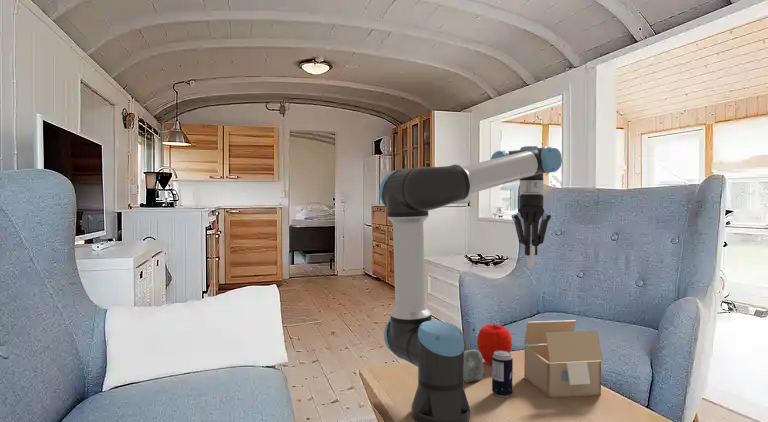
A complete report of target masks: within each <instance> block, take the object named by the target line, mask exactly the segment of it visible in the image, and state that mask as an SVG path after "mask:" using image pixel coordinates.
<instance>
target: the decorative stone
mask: <svg viewBox="0 0 768 422" xmlns="http://www.w3.org/2000/svg"><path fill="white" fill-rule="evenodd" d="M483 362H484V359H483V357H482V355H481V353H480V352H479V349H468V350H464V369H463V382H466V383H471V382H478V381H480V380H482V377H483V376H484V374H485V373H484V364H483Z"/></svg>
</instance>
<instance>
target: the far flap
mask: <svg viewBox="0 0 768 422" xmlns="http://www.w3.org/2000/svg"><path fill="white" fill-rule="evenodd" d="M576 323H577V320H576V319H570V320H569V319H568V320H567V319H565V320H542V321H541V320H539V321H538V320H536V321H534V320H533V321H527V324H526V329H525V336H524V341H523V345H525V346H527V345H537V346H547V342H546V335H545V333H546V332H572V331H575V327H576Z"/></svg>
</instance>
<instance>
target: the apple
mask: <svg viewBox="0 0 768 422" xmlns="http://www.w3.org/2000/svg"><path fill="white" fill-rule="evenodd" d="M476 338H477V340H476V341H477V342H476V344H477V345H476V346H477V350H478V351H479V352H480V353H481V355H482V358H483V359H482V360H483V361H485V364H487V365H489V366H491V367H492V356H493V355H494V352H495V351H507V352H510V353H511V350H512V345H513V344H512V343H513V342H512V341H513V340H512V335H511V333H510V330H509V329H508V328H506V327H504V326H503V325H499V324H486V325H484V326H482V327H481V328H480V330H479V332H478V334H477V337H476Z"/></svg>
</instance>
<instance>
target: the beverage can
mask: <svg viewBox="0 0 768 422" xmlns="http://www.w3.org/2000/svg"><path fill="white" fill-rule="evenodd" d="M513 359H514V358H513V356H512V353H511V351H510V352H507V351H495V352H494V355H493V356H492V366H491V368H492V369H491V370H492V371H491V380H492V381H491V391H492V393H493V394H494V395H495V396H496V397H499V398H509V397H510V395H512V394H513V373H514V372H513V368H514V367H513V365H514V364H513V363H514V362H513V361H514V360H513Z"/></svg>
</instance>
